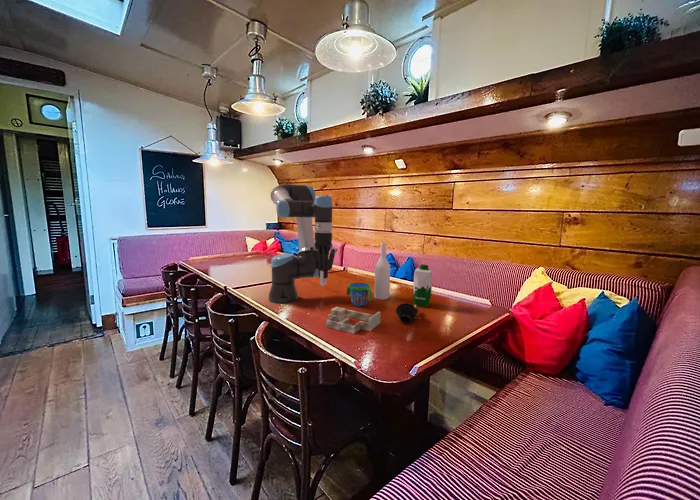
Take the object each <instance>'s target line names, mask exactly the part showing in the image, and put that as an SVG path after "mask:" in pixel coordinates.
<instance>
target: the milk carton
mask: <svg viewBox="0 0 700 500" xmlns="http://www.w3.org/2000/svg"><path fill="white" fill-rule="evenodd" d="M419 266H420V267H416V269H415V270H414V274H413V289H412V290H413V291H412V303H413V304H412V305H413V306H414V304H416V307H423V308H428V307H429V305H430V302H431V297H432V288H433V287H432V285H433V269H431V268H429V265H428V264H419Z"/></svg>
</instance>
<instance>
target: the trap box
mask: <svg viewBox="0 0 700 500" xmlns="http://www.w3.org/2000/svg"><path fill="white" fill-rule="evenodd" d="M350 318H351V319H356V320H360V321H358V322H356V323H355V324H354V325H353V324H350ZM380 324H381V311H377V312H376V313H375V314H371V313H366V312H361V311H357V310H351V309H347V308H345V318H344V319H343V320H341V321H336V315H332V314H331V313H329V314H327V319H326V323H325V325H326V328H329V329H331V330H336V331H340V332H344V333H348V334H353V335H354V334H356V333H357V332H359V331H360V330H364V331H365V332H371V331H372V330H374V329H375V328H376V327H377V326H379V325H380Z"/></svg>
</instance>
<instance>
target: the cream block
mask: <svg viewBox="0 0 700 500" xmlns="http://www.w3.org/2000/svg"><path fill="white" fill-rule="evenodd" d="M345 309H346V308H345V307H340V306H335V307H333V308H331V309H330V314H332V315H336V321H337V322H340V321H342V320H344V319H345V318H346V316H345Z"/></svg>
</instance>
